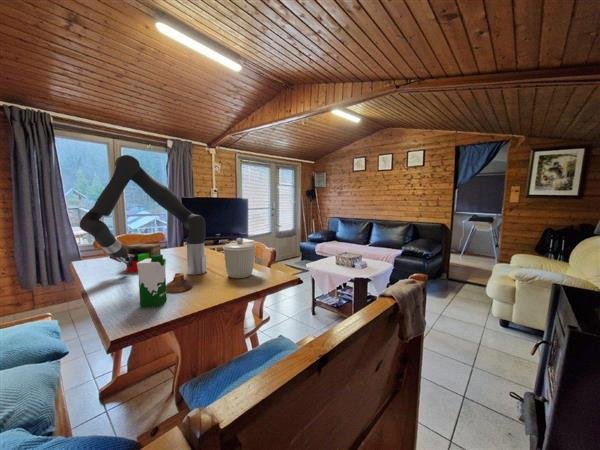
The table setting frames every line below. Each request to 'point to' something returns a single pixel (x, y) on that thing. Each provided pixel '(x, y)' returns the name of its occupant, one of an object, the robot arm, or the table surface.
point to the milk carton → (152, 281)
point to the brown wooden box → (144, 248)
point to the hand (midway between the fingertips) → (130, 264)
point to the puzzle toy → (138, 260)
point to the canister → (239, 258)
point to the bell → (178, 284)
